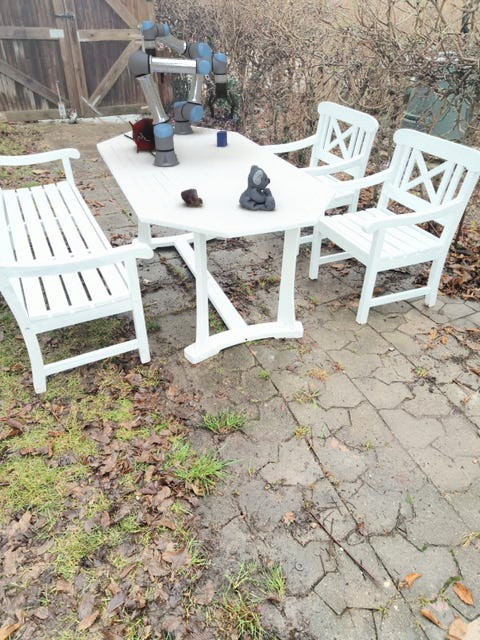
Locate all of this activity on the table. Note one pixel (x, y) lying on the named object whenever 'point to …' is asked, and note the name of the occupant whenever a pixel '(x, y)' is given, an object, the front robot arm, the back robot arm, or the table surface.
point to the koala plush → (257, 191)
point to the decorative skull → (143, 134)
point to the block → (221, 138)
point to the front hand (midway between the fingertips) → (222, 118)
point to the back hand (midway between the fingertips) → (154, 82)
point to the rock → (191, 197)
